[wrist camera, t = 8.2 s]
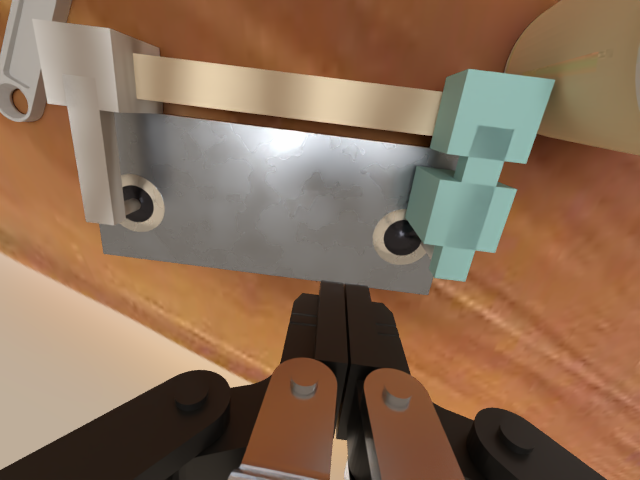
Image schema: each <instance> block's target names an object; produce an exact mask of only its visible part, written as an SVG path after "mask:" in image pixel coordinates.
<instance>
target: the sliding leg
mask: <svg viewBox="0 0 640 480" xmlns="http://www.w3.org/2000/svg"><path fill="white" fill-rule="evenodd" d="M554 83H555V80H554V79H546V78H538V77H530V76H522V75H514V74H506V73H498V72H490V71H482V70H474V69H467V70H464V71H462V72H459V73H456V74H454V75H451V76H448V77H446V81H445V86H444V90H443V94H442V98H441V103H440V107H439V111H438V115H437V120H436V124H435V128H434V132H433V137H432V141H431V145H430V149H433V150H436V151H439V152H442V153H446V154H452V155H459V159H458V163H457V166H456V170H455V171H454V170H446V169H438V168H430V167H422V166H417V167H416V171H415V176H414V180H413V184H412V189H411V193H410V198H409V202H408V207H407V211H406V215H405V218H406V219H407V220H408V222H409V223H410V225H411V226H412V228H413V229H414V231H415V232H416V233H417V235H418V236H419V238H420V239H421V245H422V247H423V248H424V250H425V251H426V253H427V254H428V256H429V257H430V259H431V262H430V266H429V270H430V271H431V273H432V275H433V276H434V278H440V279H448V280H456V281H463V282H465V281H466V278H467V274H468V271H469V268H470V265H471V262H472V259H473V256H474V253H475V250H477V251H485V252H492V253H495V251H496V248H497V246H498V243H499V240H500V237H501V234H502V231H503V228H504V226H505V223H506V220H507V217H508V214H509V211H510V208H511V206H512V203H513V200H514V197H515V194H516V191H517V189H515V188H512V187H510V186H507V185H505V184H502V183H500V182H498V179H499V176H500V173H501V170H502V167H503V163H504V161H507V162H515V163H523V164H526V163H527V160H528V157H529V154H530V151H531V148H532V146H533V143H534V140H535V137H536V134H537V131H538V128H539V126H540V123H541V120H542V117H543V114H544V111H545V108H546V106H547V103H548V100H549V97H550V94H551V91H552V88H553V86H554Z"/></svg>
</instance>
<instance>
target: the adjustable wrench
mask: <svg viewBox="0 0 640 480" xmlns="http://www.w3.org/2000/svg"><path fill="white" fill-rule="evenodd" d="M71 2H72V0H12V4H11V8H10V13H9V17H8V22H7V27H6V31H5V36H4V40H3V45H2V50H1V54H0V112H1V113H2V114H3V115H4V116H5V117H7V118H8V119H10V120H13V121H17V122H33V121H36V120H38V119H40V118H41V117H42V115H43V113H44V109H45V105H46V101H47V97H46V92H45V87H44V81H43V76H42V70H41V65H40V59H39V54H38V49H37V43H36V38H35V32H34V27H33V21H32V19H39V20H47V21H55V22H63V23H66V22H67V18H68V14H69V10H70V6H71ZM15 89H20V90H21V91H22V92H23V94H24V95H25V97H26V99H27V102H28V112H27V114H22V113H20V112H19V111H18V110H17V109H16V107H15V106H14V104H13V101H12V93H13V91H14V90H15Z"/></svg>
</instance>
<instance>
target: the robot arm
mask: <svg viewBox="0 0 640 480" xmlns="http://www.w3.org/2000/svg"><path fill="white" fill-rule="evenodd" d="M335 428H336V438H337V439H342V440H347V446H348V457H347V461H346V466H345V472H344V478H345V480H607V479H605V478H604V477H603V476H601V475H600V474H598V473H597V472H596V471H594V470H593V469H592V468H590V467H589V466H588V465H586V464H585V463H584V462H582V461H581V460H580V459H578V458H577V457H576V456H574V455H573V454H571V453H570V452H569V451H567V450H566V449H565V448H563V447H562V446H561V445H559V444H558V443H557V442H555V441H554V440H553V439H551V438H550V437H549V436H547V435H546V434H544V433H543V432H542V431H540V430H539V429H538V428H536V427H535V426H534V425H532V424H531V423H530V422H528V421H527V420H525V419H524V418H522V417H520V416H518V415H517V414H514V413H512V412H510V411H507V410H504V409H499V408H486V409H483V410H481V411H479V412H478V414H477V415H476V417H475V420H471V419H469V418H466V417H464V416H461V415H459V414H456V413H453V412H451V411H448V410H446V409H444V408H442V407H440V406H438V405H436V404H434V403H433V402H432V401H431V399H430V396H429V394H428V392H427V390H426V389H425V388H424V386H423V385H422V384H421V383H420V382H419V381H418V380H417V379H415V378H414V377H412V376H411V374H410V371H409V367H408V364H407V361H406V357H405V354H404V350H403V347H402V344H401V340H400V338H399V333H398V330H397V328H396V323H395V320H394V317H393V314H392V312H391V311H390V310H389V309H388V308H387V307H386V306H385V305H384V304H383V303H377V302H371V297H370V292H369V287H368V286H367V285H359V284H351V283H345V284H344V283H342V282H334V281H326V280H321V283H320V290H319V295H313V294H305V293H302V294H301V295H300V296H299V297H298V298H297V299H296V300H295V301H294V304H293V308H292V314H291V318H290V323H289V327H288V331H287V336H286V340H285V345H284V349H283V354H282V358H281V362H280V365H279V366H278V367H277V368H276V369H275V370H274V372H273V374H272V375H271V376H270V377H268V378H267V379H265V380H263V381H261V382H258V383H255V384H251V385H246V386H240V387H233V388H230V387H229V385H228V383H227V381H226V380H225V379H224V378H223V377H222V376H221V375H219V374H217V373H214V372H212V371H207V370H194V371H189V372H185V373H182V374H179V375H177V376H175V377H173V378H171V379H169V380H167V381H166V382H164V383H162V384H160V385H158V386H156V387H154V388H152V389H151V390H149V391H147V392H145V393H143V394H141V395H139V396H137V397H136V398H134V399H132V400H130V401H128V402H126V403H124V404H123V405H121V406H119V407H117V408H115V409H113V410H111V411H110V412H108V413H106V414H104V415H102V416H100V417H98V418H97V419H95V420H93V421H91V422H89V423H87V424H85V425H83V426H82V427H80V428H78V429H76V430H74V431H73V432H70V433H69V434H67V435H65V436H63V437H61V438H59V439H57V440H56V441H54V442H52V443H50V444H48V445H46V446H44V447H42V448H41V449H39V450H37V451H35V452H33V453H31V454H29V455H27V456H26V457H24V458H22V459H20V460H18V461H16V462H14V463H13V464H11V465H9V466H7V467H5V468H3V469H2V470H0V480H330V467H331V455H332V444H333V438H334V434H335Z"/></svg>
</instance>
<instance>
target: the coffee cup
mask: <svg viewBox="0 0 640 480" xmlns="http://www.w3.org/2000/svg"><path fill="white" fill-rule="evenodd" d="M504 73H506V74H514V75H522V76H530V77H538V78H546V79H554V80H555V83H554V86H553V88H552V91H551V94H550V97H549V100H548V103H547V106H546V108H545V111H544V114H543V117H542V120H541V123H540V126H539V128H538V131H537V134H539V135H543V136H547V137H551V138H556V139H561V140H565V141H570V142H575V143H580V144H585V145H590V146H594V147H599V148H604V149H609V150H614V151H619V152H624V153H629V154H634V155H639V156H640V0H561V1H559V2H558V3H556V4H555V5H554V6H552V7H551V8H549V9H548V10H546V11H545V12H543V13H542V14H541V15H540V16H539V17H537V18H536V19H535V20H534V21H533V22H532V23H531V24H530V25H529V26H528V27H527V28H526V29H525V31H524V32H523V33H522V34H521V36H520V37H519V39H518V40H517V42H516V43H515V45H514V47H513V49H512V51H511V53H510V55H509V58H508V60H507V63H506V67H505V71H504Z"/></svg>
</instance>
